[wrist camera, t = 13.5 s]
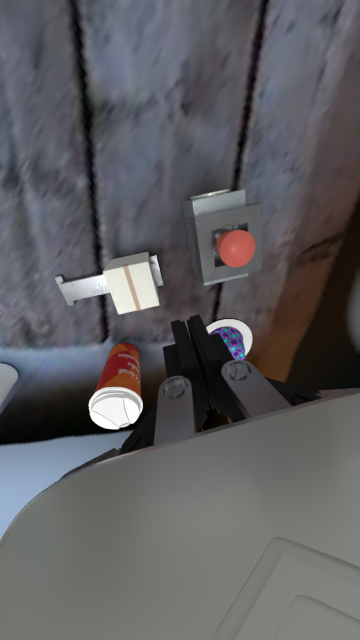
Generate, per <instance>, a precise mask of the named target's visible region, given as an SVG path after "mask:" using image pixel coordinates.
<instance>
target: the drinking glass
mask: <svg viewBox="0 0 360 640" xmlns="http://www.w3.org/2000/svg"><path fill="white" fill-rule="evenodd" d="M17 380H18V373H17V371H16V370H15V369H14V368H13V367H12V366H10V365H7V364H3V363H0V406H1V405H2V403H3V401H4V400H5V398H6V396H7V395H8V393H9V392H10V390H11V388H12V387H13V385H14V384H15V383H16V381H17Z"/></svg>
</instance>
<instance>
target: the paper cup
mask: <svg viewBox="0 0 360 640" xmlns="http://www.w3.org/2000/svg"><path fill="white" fill-rule="evenodd" d="M142 408H143V403H142V400H141V397H140V361H139V352H138V349H137V348H136V347H135V346H134V345H132V344H129V343H119V344H117V345H115V346H114V347H113V348H112V350H111V352H110V354H109V357H108V359H107V362H106V365H105V367H104V370H103V373H102V375H101V378H100V381H99V383H98V386H97V389H96V392H95V394H94V395H93V396H92V398H91V399H90V402H89V410H90V415H91V418H92V420H93V421H94V422H95V423H96V424H98V425H99V426H101V427H104V428H108V429H119V427H125V426H127V425H129V424H130V423H132V424H133V423H134V422H135V421H136V420H137V418H138V416H139V414H140V413H141V411H142Z"/></svg>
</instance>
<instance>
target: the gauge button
mask: <svg viewBox="0 0 360 640" xmlns="http://www.w3.org/2000/svg"><path fill="white" fill-rule="evenodd" d="M212 245H213V250H214V252H215V253H216V254H218V255H219V256H220V258H221V260H222V261H223V262H224V263H225V264H226V265H228V266H230V267H241V266H243V265H245V264H246V263H248V262H249V261H250V260H251V258H252V256H253V254H254V252H255V241H254V238H253V236H252V235H251V234H250V233H248V232H247V231H243V230H233V231H232V230H229V229H222V230H220V231H218V232H217V233H216V234H215V235H214V237H213V239H212Z"/></svg>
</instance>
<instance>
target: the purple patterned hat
mask: <svg viewBox="0 0 360 640" xmlns="http://www.w3.org/2000/svg"><path fill="white" fill-rule="evenodd" d="M223 326H231V327H228V328H226V329H225V328H223ZM219 327H220V328H219ZM233 327H234V328H233ZM235 328H236V329H238V330H239V331H240V332H241V333H240V332H236V330H235ZM206 329H207V331H208V333H211V332H212V331H213V330H215V329H216V330H215V332H214V333H219V334H220V335H221V337H222V339H223V340H224V342H225V344H226V345H227V347H228V349H229V350H230V352H231V354H232V355H233V357H234V359H235V360H244V359H245V355H246V354H247V353H248V352H249V350H250V348H251V345H252V333H251V331H250V329H249V327H248V326H247V325H246V324H244V323H243V322H241V321H238V320H234V319H224V320H220V321H216V322H214V323H212V324H210V325H209V326H207V327H206ZM214 333H211V334H214ZM211 334H209V335H211ZM242 336H243V338H242Z"/></svg>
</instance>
